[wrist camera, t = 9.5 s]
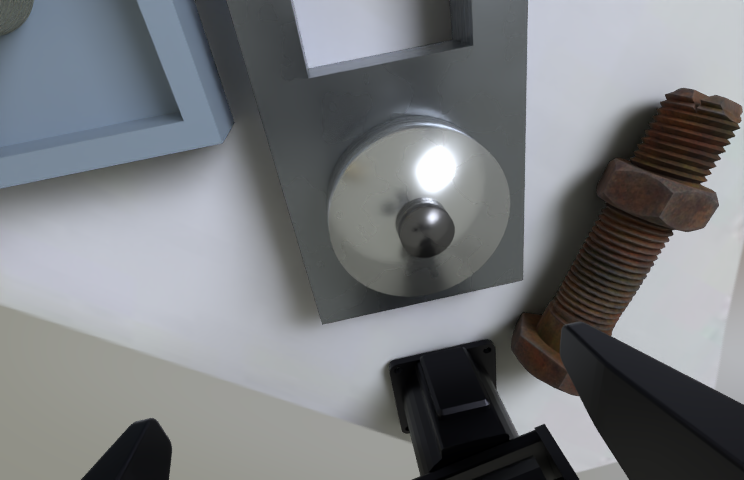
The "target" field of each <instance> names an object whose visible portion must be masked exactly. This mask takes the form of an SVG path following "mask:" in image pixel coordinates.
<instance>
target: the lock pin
mask: <svg viewBox="0 0 744 480" xmlns="http://www.w3.org/2000/svg"><path fill="white" fill-rule="evenodd" d="M33 3H34V0H0V36H1V35H5V34H8V33H10V32H13V31H15V30H16V29H17V28H19V27H20V26H21V25H22V24H23V23H24V22H25V21H26V19H27V18H28V16H29V15H30V12H31V10H32V7H33Z"/></svg>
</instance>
